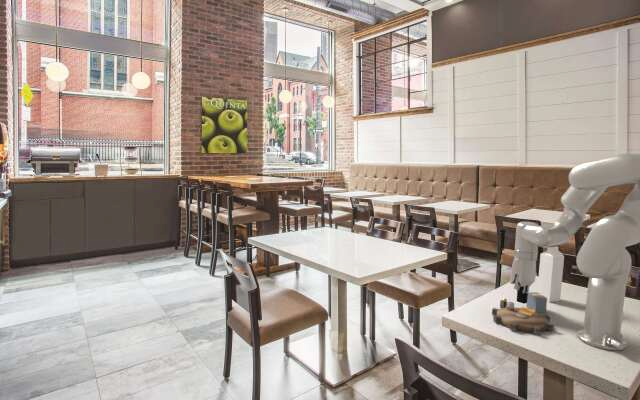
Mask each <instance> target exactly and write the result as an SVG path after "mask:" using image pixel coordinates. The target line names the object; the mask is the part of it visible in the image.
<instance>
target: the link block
mask: <svg viewBox="0 0 640 400" xmlns="http://www.w3.org/2000/svg"><path fill="white" fill-rule="evenodd" d="M547 303H548V302H547V298H546V297H545V296H543V295H541V294H540V293H538V292H537V291H535V292H534V291H532V292H531V291H529V292H528V298H527V303H526V306H525V308H530V309H533V310H536V311H535V312H537V313H539V314H546V313H547Z"/></svg>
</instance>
